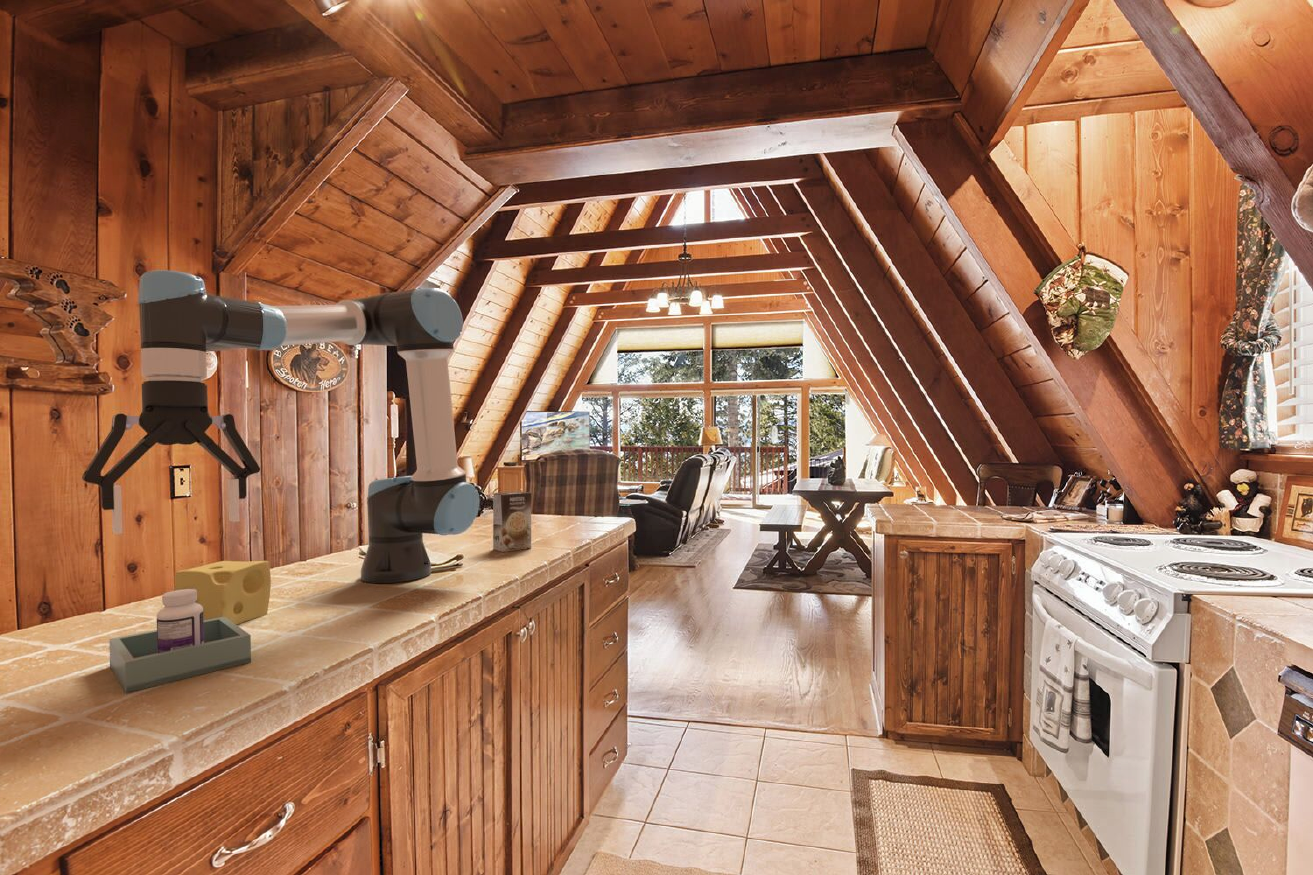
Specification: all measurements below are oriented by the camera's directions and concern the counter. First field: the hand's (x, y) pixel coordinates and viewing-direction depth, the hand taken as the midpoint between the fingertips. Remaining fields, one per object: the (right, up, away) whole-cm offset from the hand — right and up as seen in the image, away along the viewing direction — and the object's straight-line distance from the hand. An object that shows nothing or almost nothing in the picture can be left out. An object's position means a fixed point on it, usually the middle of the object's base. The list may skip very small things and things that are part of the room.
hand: (179, 527), depth 90 cm
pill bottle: (0, -19, 0) cm, 19 cm away
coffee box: (+28, -19, +86) cm, 93 cm away
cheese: (-9, -20, +22) cm, 31 cm away
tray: (0, -20, 0) cm, 20 cm away
